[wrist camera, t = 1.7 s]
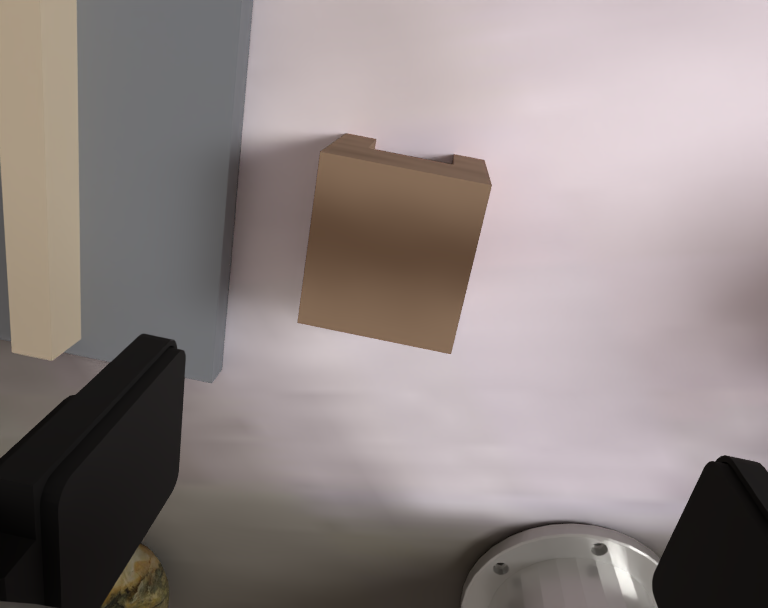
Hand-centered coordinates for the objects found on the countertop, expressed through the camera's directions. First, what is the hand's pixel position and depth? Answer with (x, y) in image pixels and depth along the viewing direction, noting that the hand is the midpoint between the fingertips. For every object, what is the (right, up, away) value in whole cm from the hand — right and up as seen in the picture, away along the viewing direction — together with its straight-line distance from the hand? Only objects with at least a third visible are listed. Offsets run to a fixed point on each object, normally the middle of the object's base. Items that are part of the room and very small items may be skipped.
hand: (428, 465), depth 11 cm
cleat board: (-16, +10, +19) cm, 27 cm away
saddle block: (0, +7, +19) cm, 20 cm away
